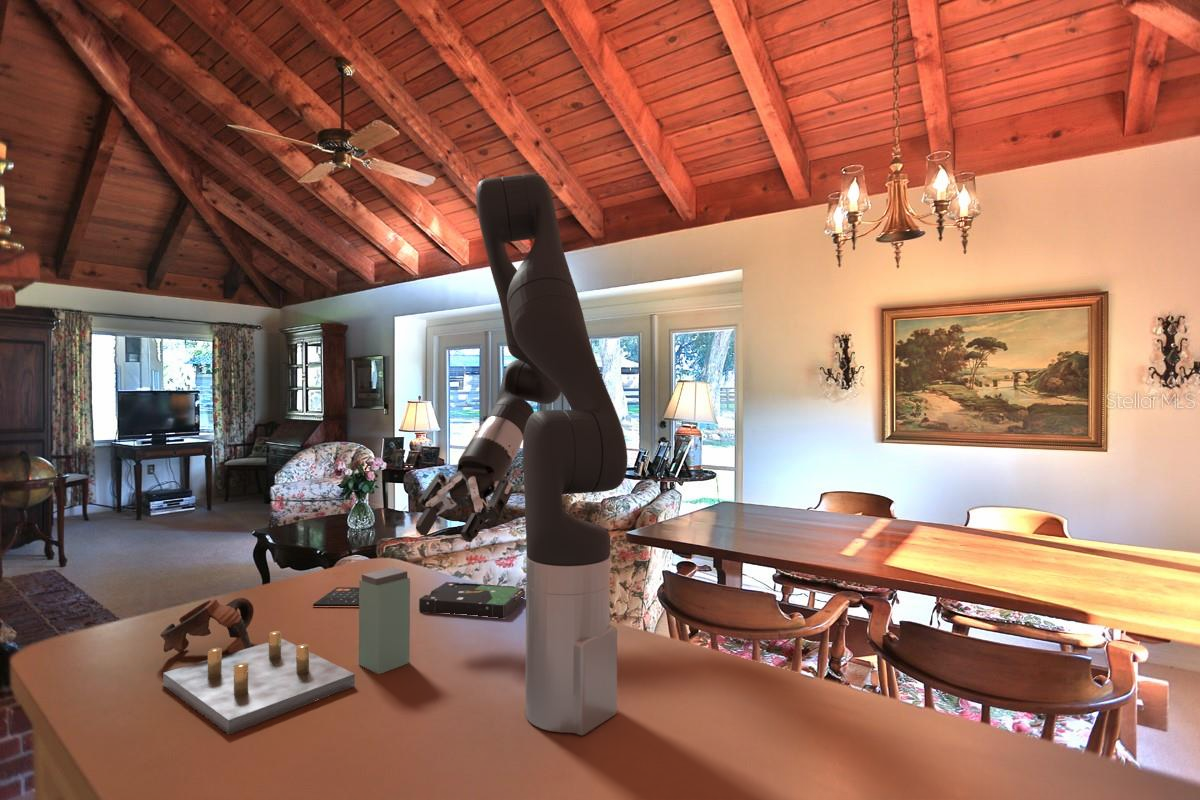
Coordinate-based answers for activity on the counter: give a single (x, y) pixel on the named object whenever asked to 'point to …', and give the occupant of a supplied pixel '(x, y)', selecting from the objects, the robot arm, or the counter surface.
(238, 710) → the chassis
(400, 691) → the counter surface
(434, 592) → the disk drive
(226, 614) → the pottery mug
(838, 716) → the counter surface
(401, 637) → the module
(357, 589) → the calculator
